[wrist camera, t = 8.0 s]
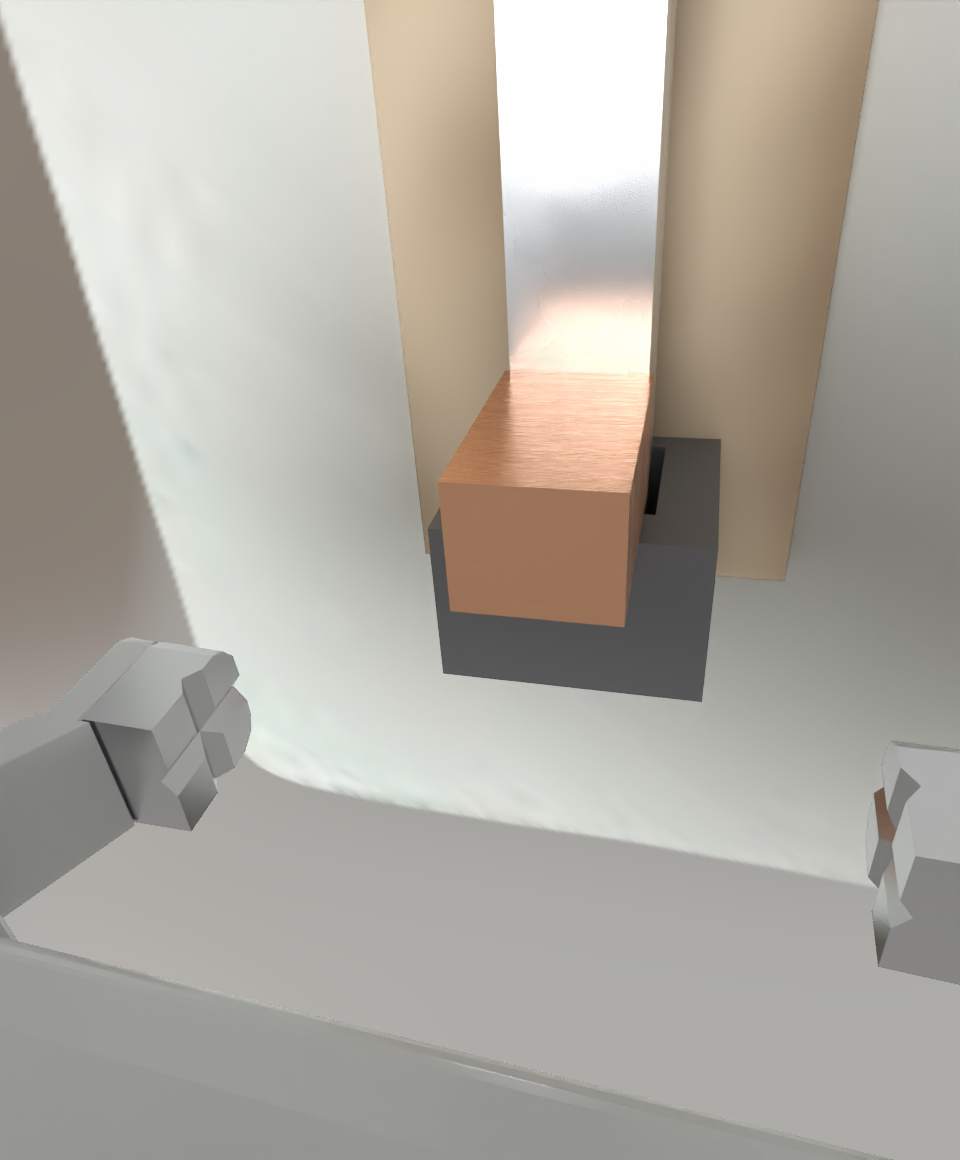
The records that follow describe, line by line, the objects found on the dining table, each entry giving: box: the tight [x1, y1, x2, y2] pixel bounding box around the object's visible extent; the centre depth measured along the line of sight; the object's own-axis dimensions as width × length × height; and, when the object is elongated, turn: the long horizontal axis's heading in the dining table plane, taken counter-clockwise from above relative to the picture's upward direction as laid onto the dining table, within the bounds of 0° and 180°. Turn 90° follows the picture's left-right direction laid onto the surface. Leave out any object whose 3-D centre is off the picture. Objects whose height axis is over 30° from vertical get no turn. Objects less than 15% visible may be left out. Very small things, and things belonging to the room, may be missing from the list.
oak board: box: [364, 0, 879, 581], centre depth 18 cm, size 10×24×1 cm, turn 4°
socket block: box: [428, 436, 721, 702], centre depth 21 cm, size 6×4×5 cm, turn 94°
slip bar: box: [438, 0, 677, 627], centre depth 15 cm, size 3×15×8 cm, turn 4°
